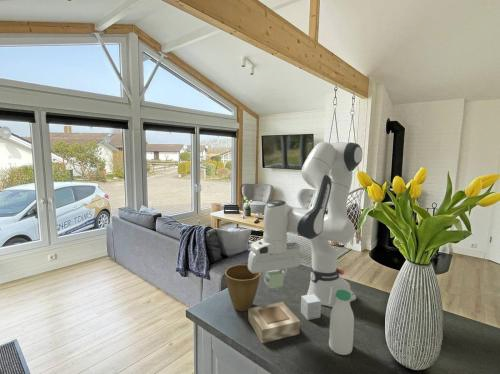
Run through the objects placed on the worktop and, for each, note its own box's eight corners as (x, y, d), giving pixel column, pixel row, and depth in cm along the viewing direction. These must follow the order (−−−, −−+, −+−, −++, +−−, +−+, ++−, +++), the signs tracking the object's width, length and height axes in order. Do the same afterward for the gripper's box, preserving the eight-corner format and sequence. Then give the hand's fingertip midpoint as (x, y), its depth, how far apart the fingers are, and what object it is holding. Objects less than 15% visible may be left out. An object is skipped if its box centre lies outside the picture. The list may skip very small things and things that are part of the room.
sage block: (277, 280, 105) (277, 268, 104) (283, 286, 100) (283, 273, 100) (265, 282, 103) (265, 269, 103) (270, 288, 99) (271, 275, 98)
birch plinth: (282, 313, 113) (282, 301, 112) (299, 333, 100) (300, 320, 99) (248, 320, 108) (248, 307, 107) (262, 343, 95) (262, 329, 94)
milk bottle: (357, 353, 91) (360, 296, 88) (337, 358, 88) (340, 300, 86) (343, 338, 98) (346, 285, 96) (324, 342, 96) (326, 288, 93)
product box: (313, 309, 116) (314, 293, 115) (320, 318, 110) (321, 301, 109) (300, 311, 114) (300, 295, 113) (307, 320, 108) (307, 303, 108)
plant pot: (218, 306, 118) (218, 270, 116) (244, 294, 128) (244, 261, 126) (240, 321, 107) (240, 283, 105) (266, 307, 117) (267, 272, 115)
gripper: (295, 239, 107) (294, 272, 108) (246, 244, 99) (246, 280, 101) (304, 244, 101) (302, 279, 102) (252, 250, 94) (252, 288, 95)
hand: (274, 280), depth 102 cm, fingers closed on sage block, 5 cm apart
